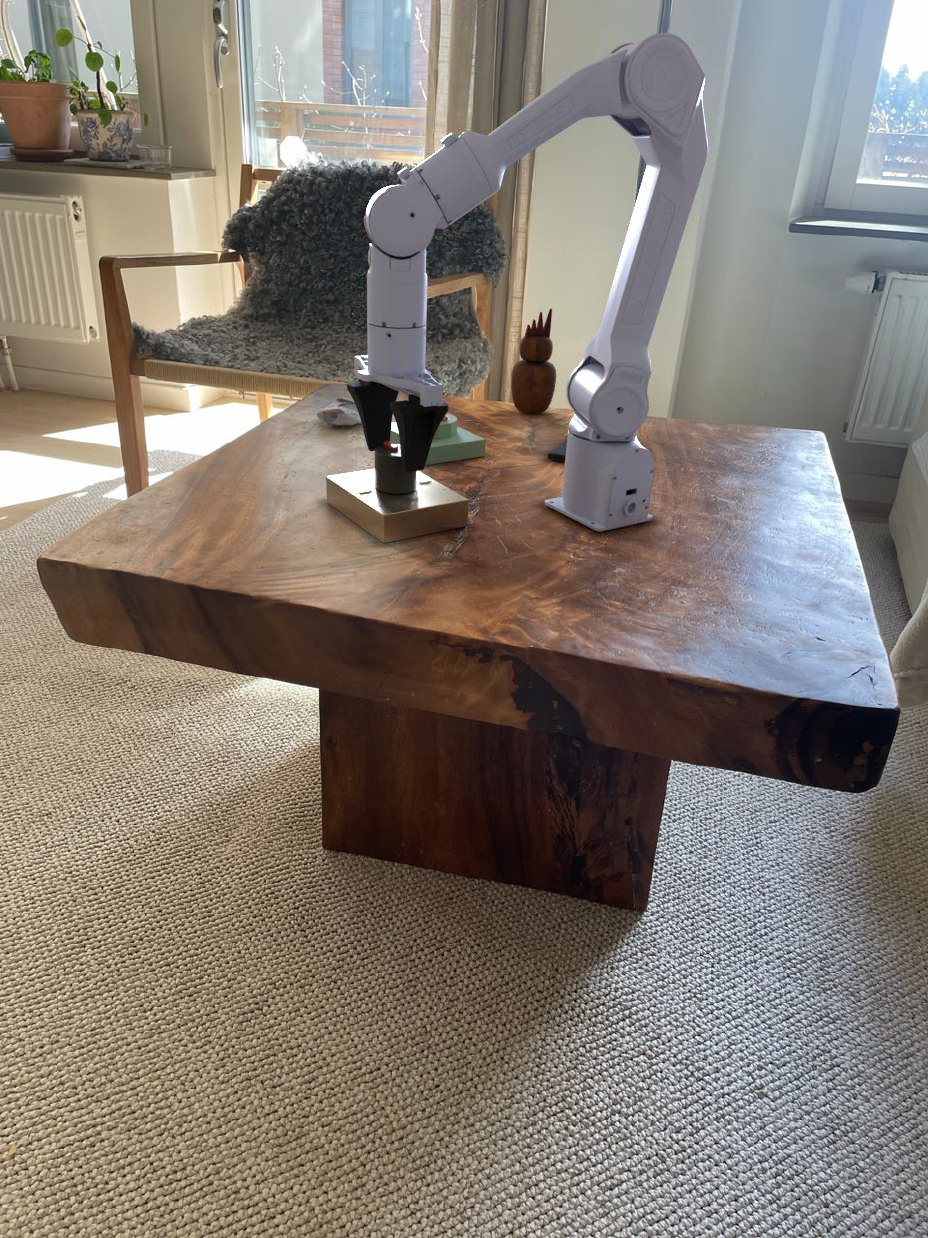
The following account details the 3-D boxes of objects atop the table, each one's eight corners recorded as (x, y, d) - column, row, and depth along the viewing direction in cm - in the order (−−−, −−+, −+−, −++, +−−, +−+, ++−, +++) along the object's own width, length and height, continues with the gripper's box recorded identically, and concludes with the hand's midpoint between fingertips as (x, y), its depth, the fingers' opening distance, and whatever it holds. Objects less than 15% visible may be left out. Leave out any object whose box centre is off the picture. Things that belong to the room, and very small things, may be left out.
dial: (424, 490, 93) (425, 450, 91) (387, 496, 91) (387, 455, 89) (403, 477, 96) (403, 439, 94) (367, 483, 94) (367, 444, 92)
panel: (467, 526, 93) (469, 497, 91) (383, 543, 88) (383, 513, 86) (405, 488, 102) (406, 462, 101) (326, 502, 97) (325, 474, 96)
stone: (341, 410, 132) (340, 392, 130) (386, 416, 129) (386, 398, 128) (310, 426, 123) (309, 407, 122) (358, 432, 121) (357, 413, 120)
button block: (484, 455, 115) (486, 425, 113) (425, 465, 110) (426, 433, 108) (436, 432, 123) (437, 403, 122) (379, 439, 119) (379, 410, 117)
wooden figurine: (553, 407, 138) (562, 307, 132) (552, 417, 133) (562, 312, 126) (510, 404, 139) (516, 304, 132) (507, 414, 134) (515, 309, 127)
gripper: (326, 313, 89) (329, 445, 95) (397, 339, 79) (395, 485, 85) (388, 310, 93) (387, 437, 99) (464, 334, 82) (457, 475, 88)
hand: (395, 459), depth 92 cm, fingers open, 7 cm apart
